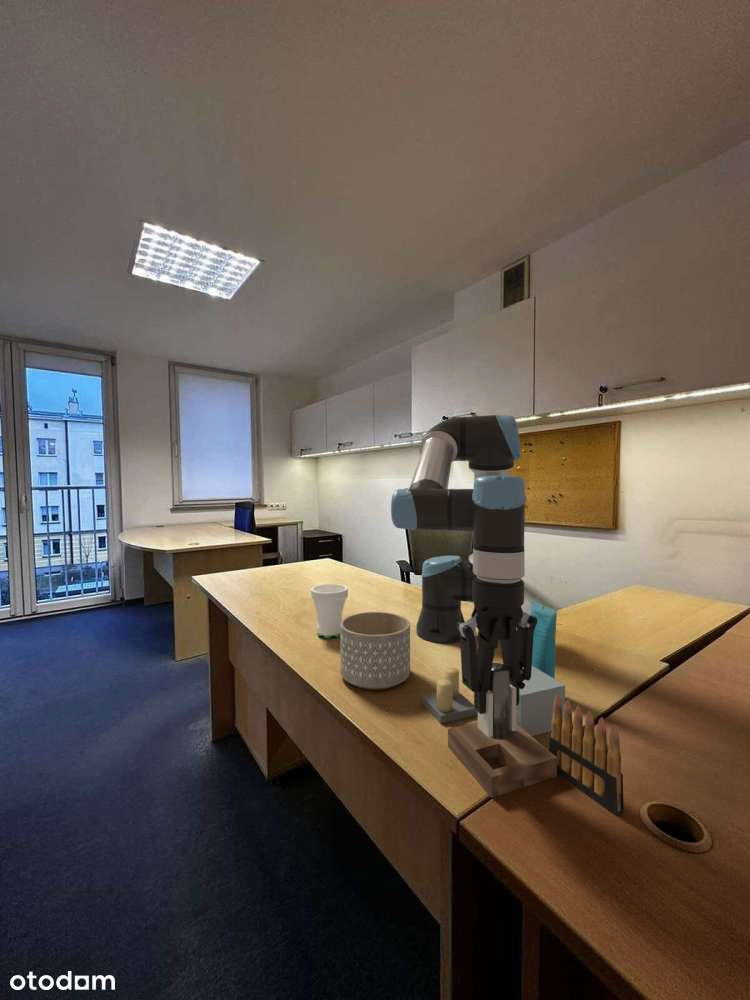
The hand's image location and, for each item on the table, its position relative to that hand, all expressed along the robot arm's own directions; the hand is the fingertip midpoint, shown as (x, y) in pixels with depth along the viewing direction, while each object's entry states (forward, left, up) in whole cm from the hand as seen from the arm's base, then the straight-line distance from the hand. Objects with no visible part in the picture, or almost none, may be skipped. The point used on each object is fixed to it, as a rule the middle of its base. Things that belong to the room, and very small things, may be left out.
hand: (496, 728), depth 60 cm
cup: (+10, -66, -8) cm, 67 cm away
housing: (-14, -11, -7) cm, 19 cm away
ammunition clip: (-11, +6, -8) cm, 15 cm away
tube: (-25, -17, -8) cm, 31 cm away
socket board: (-3, -3, -7) cm, 8 cm away
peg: (0, 0, -1) cm, 1 cm away
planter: (+6, -37, -8) cm, 38 cm away
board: (-3, -19, -7) cm, 20 cm away
